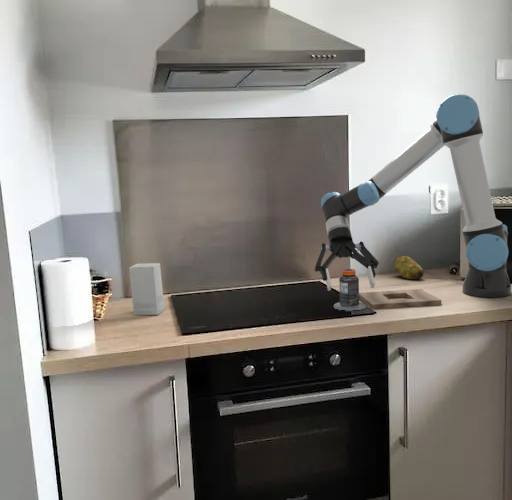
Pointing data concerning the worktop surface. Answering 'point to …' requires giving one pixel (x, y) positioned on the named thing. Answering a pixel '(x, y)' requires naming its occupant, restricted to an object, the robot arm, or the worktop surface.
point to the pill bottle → (349, 288)
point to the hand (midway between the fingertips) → (351, 287)
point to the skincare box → (146, 289)
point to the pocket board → (413, 299)
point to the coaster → (339, 307)
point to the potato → (408, 268)
